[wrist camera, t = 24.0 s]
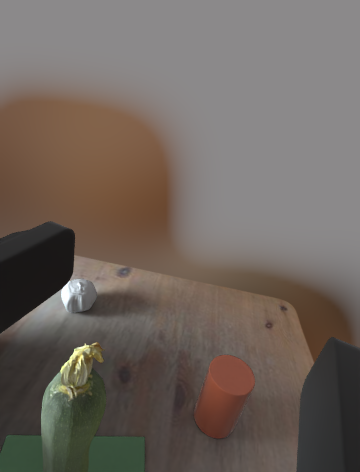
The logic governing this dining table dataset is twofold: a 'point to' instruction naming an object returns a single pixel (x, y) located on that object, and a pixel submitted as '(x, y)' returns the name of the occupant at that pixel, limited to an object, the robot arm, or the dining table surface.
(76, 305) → the garlic
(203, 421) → the orange cylinder block
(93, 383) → the vegetable
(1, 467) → the green mat
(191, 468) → the dining table surface
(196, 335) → the dining table surface
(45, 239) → the robot arm
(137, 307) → the dining table surface
